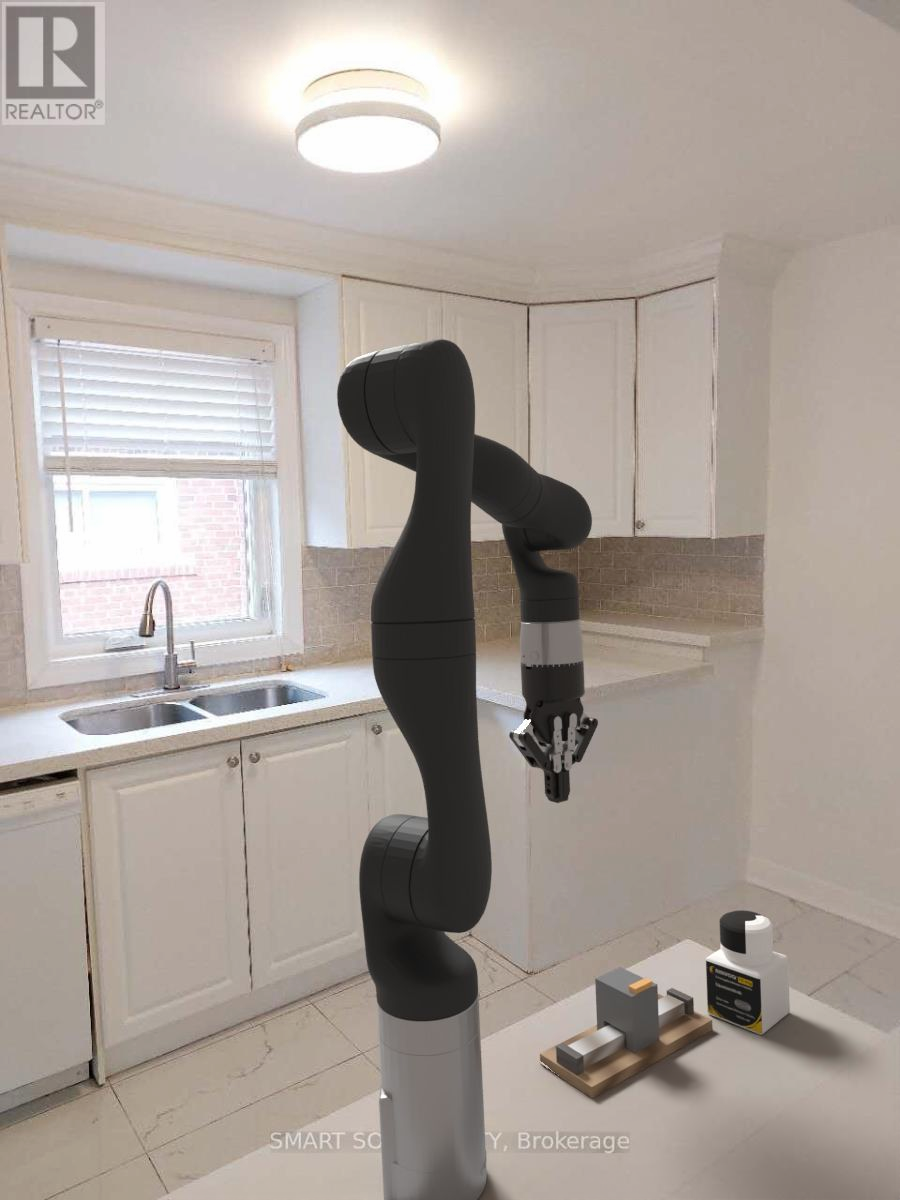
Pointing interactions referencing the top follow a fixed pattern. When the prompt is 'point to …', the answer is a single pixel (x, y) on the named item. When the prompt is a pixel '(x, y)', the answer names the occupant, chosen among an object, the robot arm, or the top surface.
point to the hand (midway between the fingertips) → (557, 800)
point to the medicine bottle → (747, 974)
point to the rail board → (624, 1047)
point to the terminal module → (628, 1007)
